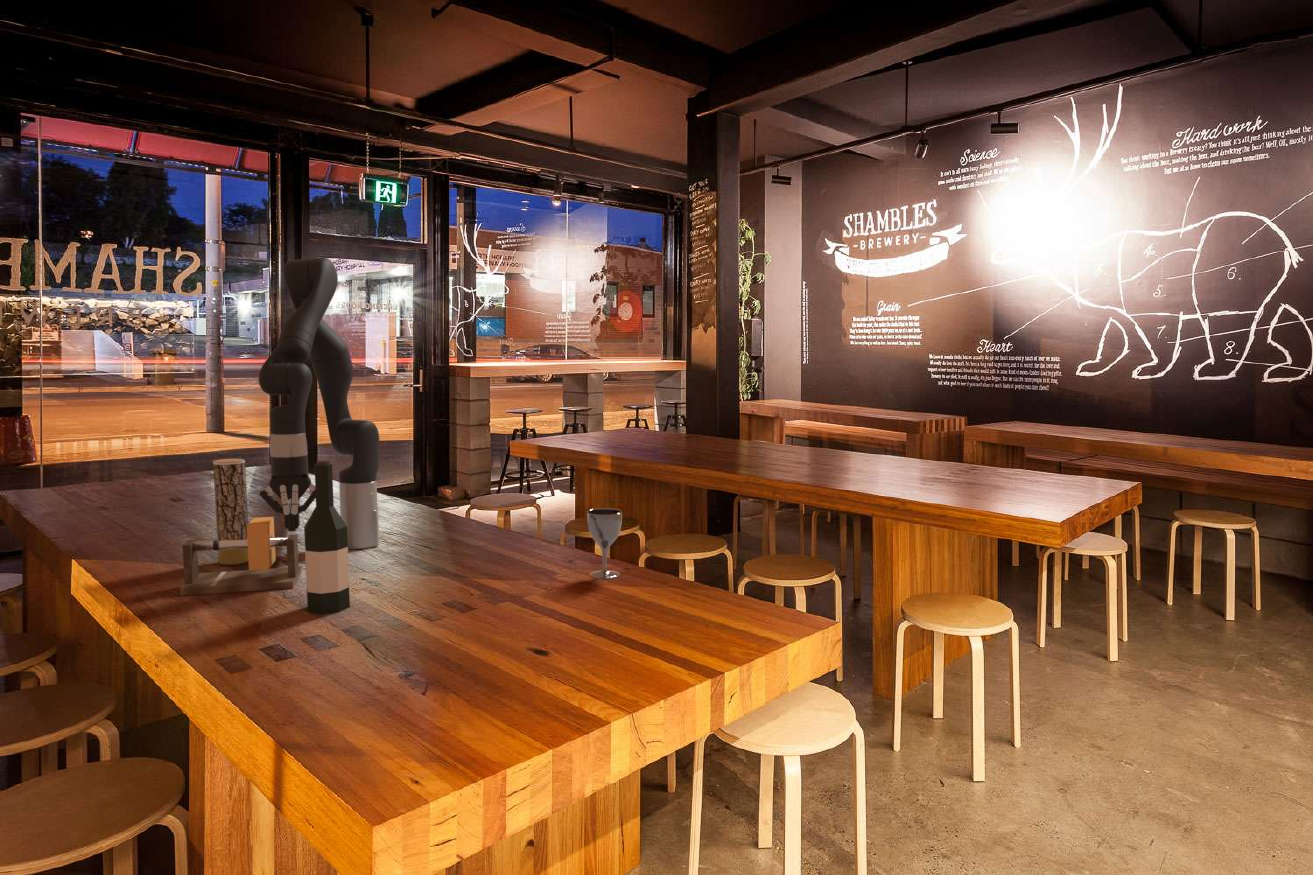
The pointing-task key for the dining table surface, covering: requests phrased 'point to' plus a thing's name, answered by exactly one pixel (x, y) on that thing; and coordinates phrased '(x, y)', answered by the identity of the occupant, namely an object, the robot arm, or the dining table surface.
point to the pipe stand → (238, 579)
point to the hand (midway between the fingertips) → (292, 530)
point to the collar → (260, 543)
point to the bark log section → (231, 507)
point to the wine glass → (604, 535)
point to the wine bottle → (326, 549)
